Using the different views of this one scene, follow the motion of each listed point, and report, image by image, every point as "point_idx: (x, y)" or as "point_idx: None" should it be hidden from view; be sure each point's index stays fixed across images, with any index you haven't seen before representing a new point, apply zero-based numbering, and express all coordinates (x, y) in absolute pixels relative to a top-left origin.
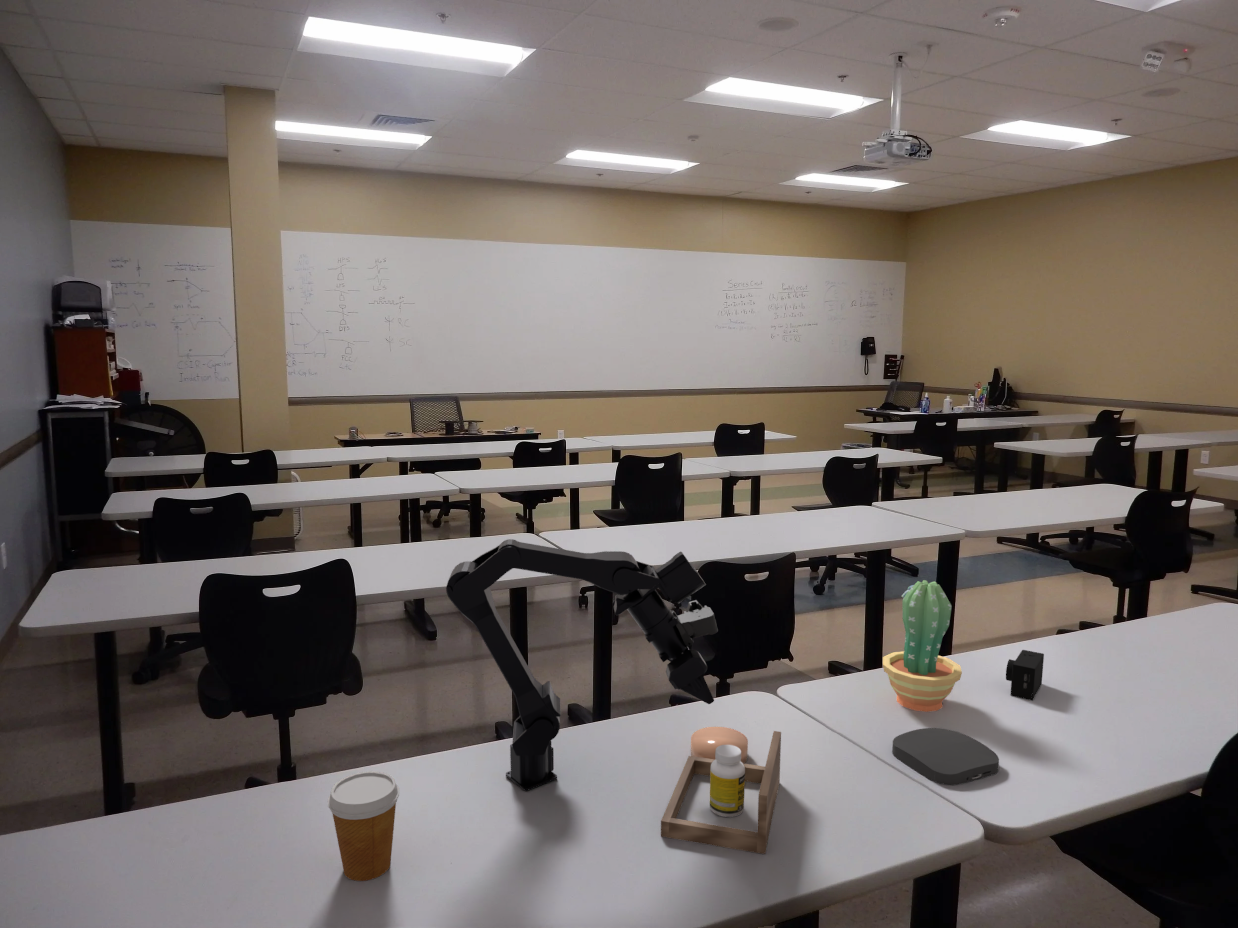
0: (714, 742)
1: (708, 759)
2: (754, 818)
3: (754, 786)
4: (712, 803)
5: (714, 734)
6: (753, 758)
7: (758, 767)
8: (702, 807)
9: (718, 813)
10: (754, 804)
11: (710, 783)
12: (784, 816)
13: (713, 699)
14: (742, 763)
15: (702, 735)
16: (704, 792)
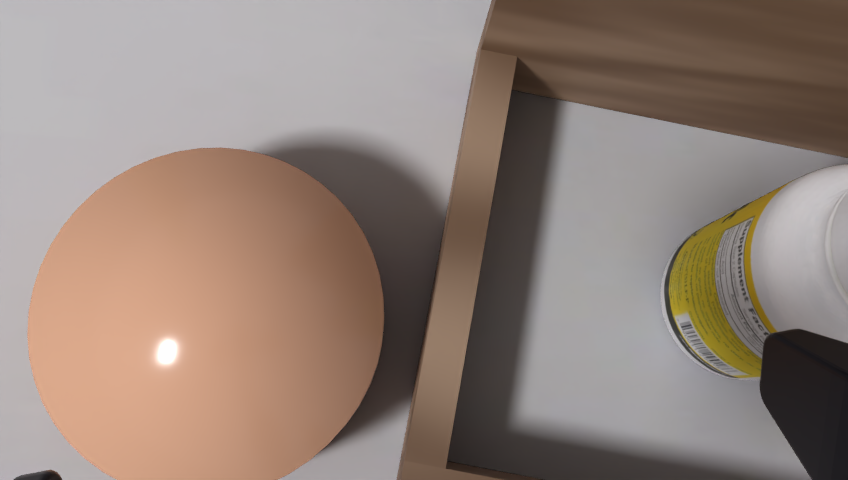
0: (248, 345)
1: (428, 383)
2: (784, 184)
3: (523, 164)
4: None
5: (139, 343)
6: (253, 148)
7: (488, 118)
8: (743, 413)
9: None
10: (675, 175)
11: None
12: None
13: (819, 335)
14: (844, 172)
15: (156, 421)
16: (611, 403)
